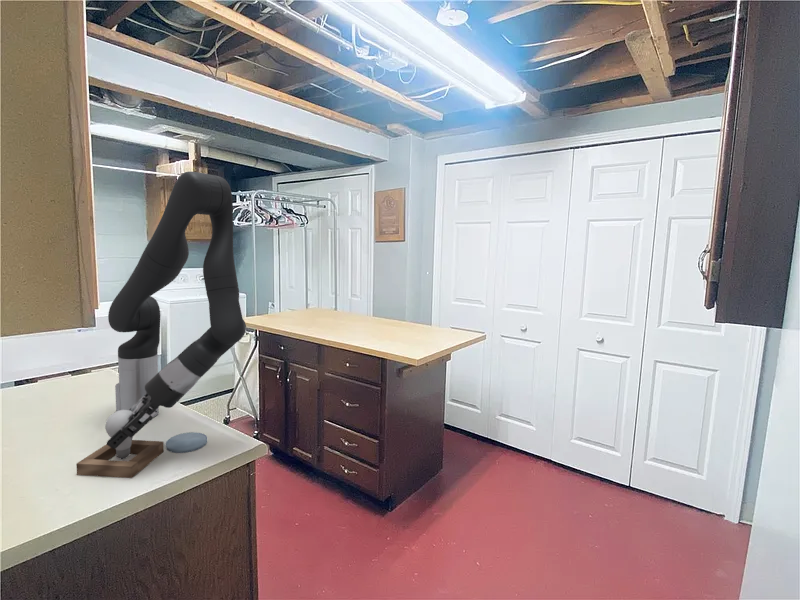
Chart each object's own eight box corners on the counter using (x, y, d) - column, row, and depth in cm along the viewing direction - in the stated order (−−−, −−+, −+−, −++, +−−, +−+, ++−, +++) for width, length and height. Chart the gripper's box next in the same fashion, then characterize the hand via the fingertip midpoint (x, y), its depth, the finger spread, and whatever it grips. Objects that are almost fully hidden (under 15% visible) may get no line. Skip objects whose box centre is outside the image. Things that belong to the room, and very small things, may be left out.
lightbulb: (145, 457, 95) (143, 409, 94) (115, 468, 90) (113, 418, 88) (130, 449, 98) (128, 403, 97) (101, 460, 93) (98, 411, 92)
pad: (157, 451, 99) (157, 447, 99) (178, 435, 108) (178, 431, 108) (196, 454, 99) (196, 449, 99) (213, 437, 108) (213, 433, 108)
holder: (76, 475, 88) (76, 463, 88) (114, 449, 100) (114, 438, 99) (132, 478, 88) (131, 466, 88) (163, 451, 99) (163, 441, 99)
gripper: (162, 362, 101) (104, 416, 98) (157, 380, 88) (90, 444, 85) (188, 381, 104) (132, 435, 100) (186, 402, 91) (122, 464, 88)
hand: (113, 439), depth 93 cm, fingers closed on lightbulb, 6 cm apart
